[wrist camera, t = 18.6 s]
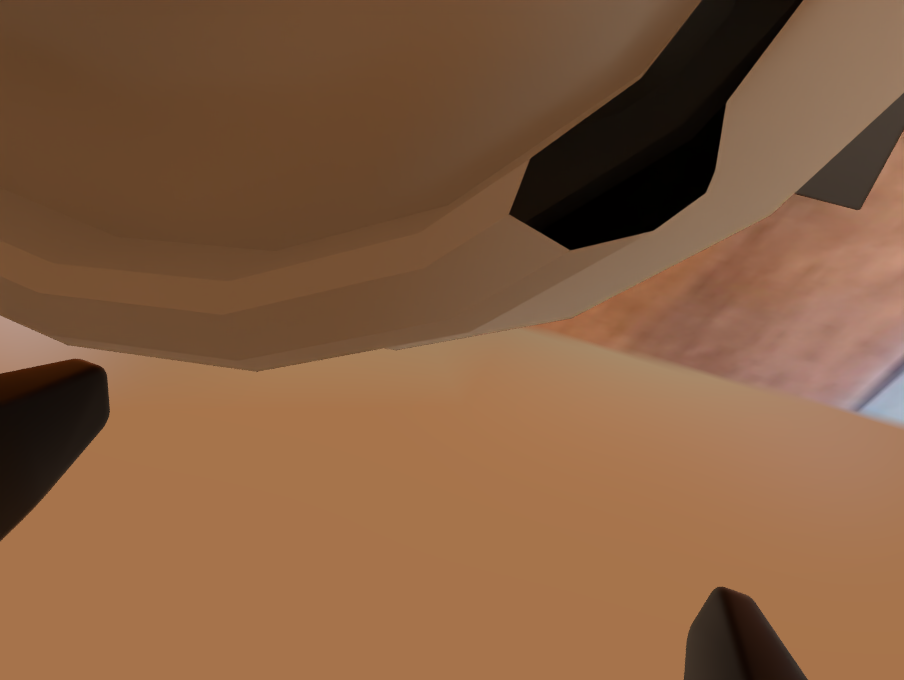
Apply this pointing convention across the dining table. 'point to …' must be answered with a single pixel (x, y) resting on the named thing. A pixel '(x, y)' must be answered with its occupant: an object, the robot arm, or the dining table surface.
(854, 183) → the dark grey flat block
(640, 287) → the dining table surface
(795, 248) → the dining table surface
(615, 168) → the can
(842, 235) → the dining table surface
